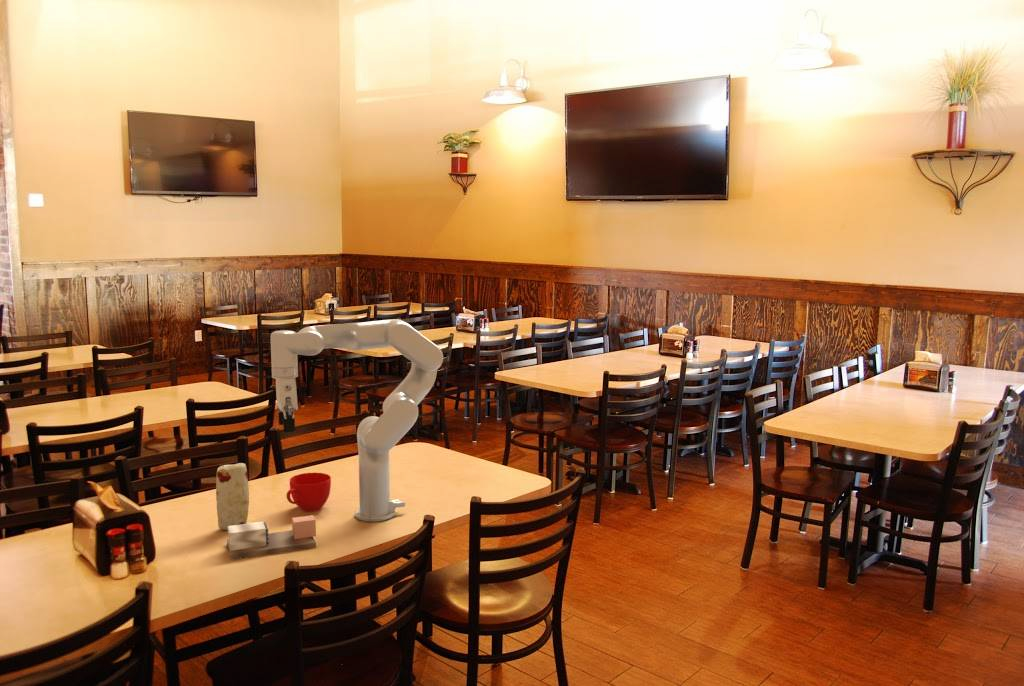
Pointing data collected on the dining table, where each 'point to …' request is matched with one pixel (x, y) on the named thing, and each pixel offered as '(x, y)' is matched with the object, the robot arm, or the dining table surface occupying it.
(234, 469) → the food model
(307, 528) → the stub
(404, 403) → the robot arm
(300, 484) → the ceramic cup
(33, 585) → the dining table surface
